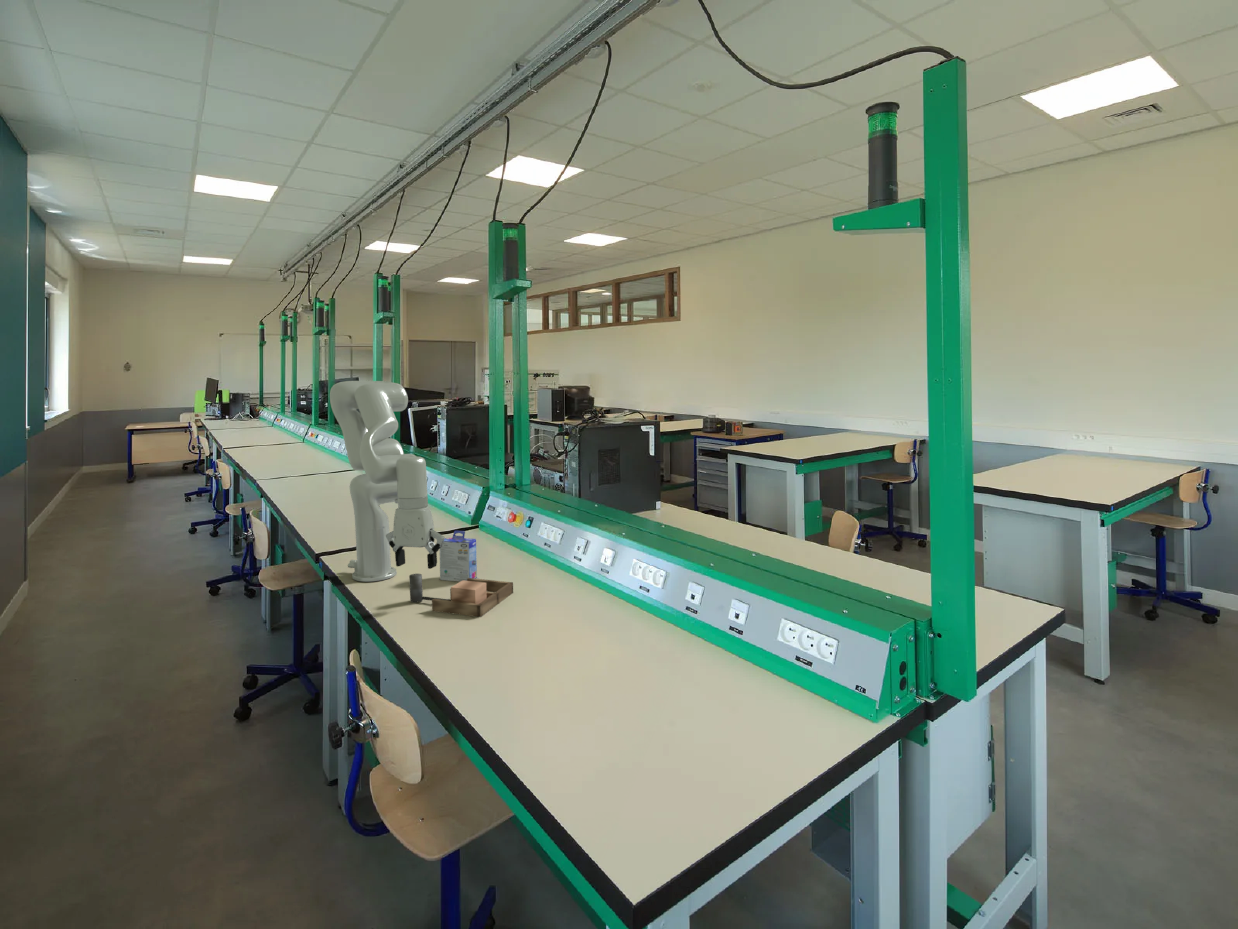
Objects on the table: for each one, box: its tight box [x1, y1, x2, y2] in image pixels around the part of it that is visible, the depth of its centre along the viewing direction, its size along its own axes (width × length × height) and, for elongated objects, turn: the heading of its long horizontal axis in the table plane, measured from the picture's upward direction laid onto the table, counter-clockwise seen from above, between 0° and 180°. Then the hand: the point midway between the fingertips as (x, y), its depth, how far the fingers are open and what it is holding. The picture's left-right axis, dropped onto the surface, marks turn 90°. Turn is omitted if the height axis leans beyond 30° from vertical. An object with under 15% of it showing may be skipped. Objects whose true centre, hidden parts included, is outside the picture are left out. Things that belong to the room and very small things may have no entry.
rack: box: [431, 578, 514, 618], centre depth 169 cm, size 14×19×3 cm
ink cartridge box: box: [439, 530, 478, 582], centre depth 187 cm, size 10×6×14 cm, turn 79°
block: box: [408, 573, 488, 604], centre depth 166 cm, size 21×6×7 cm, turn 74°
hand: (416, 566), depth 167 cm, fingers open, 9 cm apart
